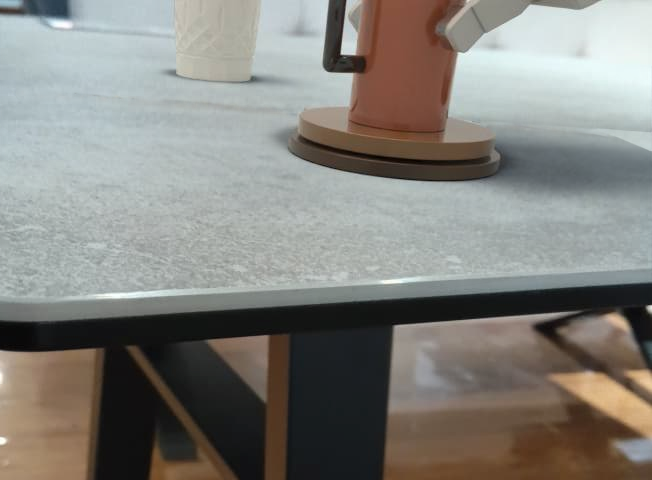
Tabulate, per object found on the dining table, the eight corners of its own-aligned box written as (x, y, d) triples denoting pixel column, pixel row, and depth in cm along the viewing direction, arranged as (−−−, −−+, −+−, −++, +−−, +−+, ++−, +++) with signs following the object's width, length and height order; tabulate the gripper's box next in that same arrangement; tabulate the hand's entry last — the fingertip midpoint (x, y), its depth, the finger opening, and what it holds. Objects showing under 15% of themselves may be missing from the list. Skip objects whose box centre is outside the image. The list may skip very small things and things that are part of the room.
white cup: (160, 75, 83) (163, -44, 78) (239, 78, 85) (246, -37, 81) (184, 87, 76) (189, -42, 72) (269, 90, 79) (278, -34, 74)
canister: (422, 122, 62) (454, -91, 56) (534, 159, 52) (587, -95, 46) (266, 121, 57) (284, -113, 51) (358, 161, 47) (393, -122, 42)
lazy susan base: (462, 143, 62) (464, 131, 61) (529, 186, 50) (532, 172, 50) (277, 130, 60) (278, 118, 60) (302, 172, 48) (303, 158, 48)
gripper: (429, -174, 58) (285, -20, 58) (689, -209, 42) (490, 3, 42) (470, -90, 62) (335, 54, 62) (723, -92, 46) (540, 102, 46)
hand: (399, 34), depth 52 cm, fingers open, 7 cm apart
